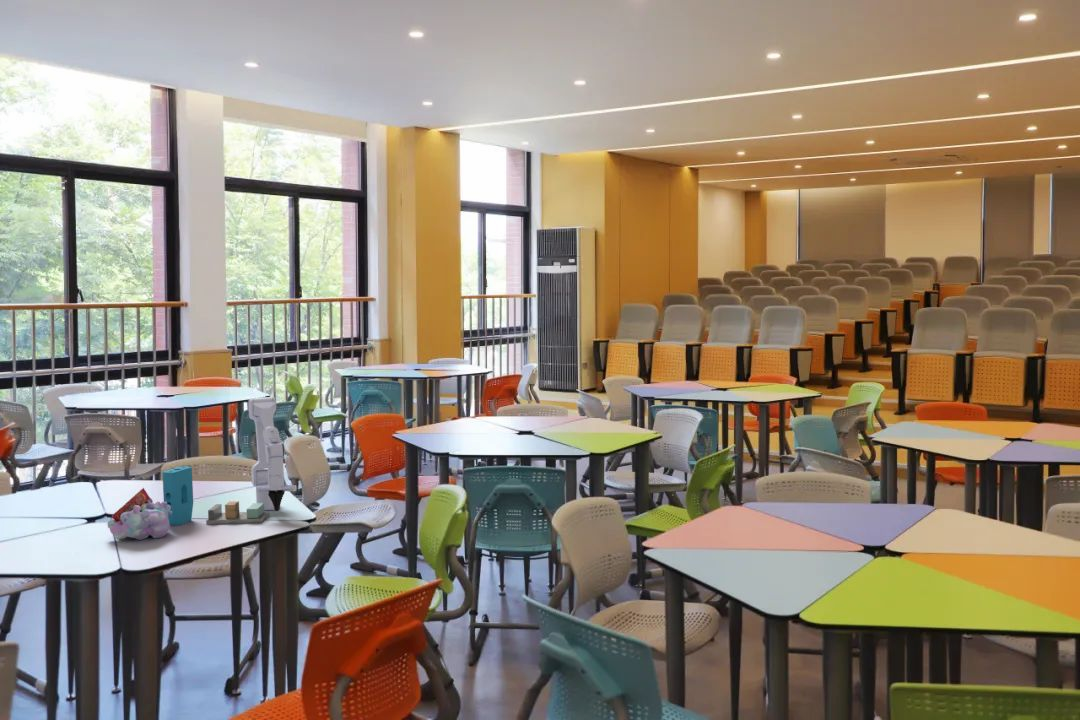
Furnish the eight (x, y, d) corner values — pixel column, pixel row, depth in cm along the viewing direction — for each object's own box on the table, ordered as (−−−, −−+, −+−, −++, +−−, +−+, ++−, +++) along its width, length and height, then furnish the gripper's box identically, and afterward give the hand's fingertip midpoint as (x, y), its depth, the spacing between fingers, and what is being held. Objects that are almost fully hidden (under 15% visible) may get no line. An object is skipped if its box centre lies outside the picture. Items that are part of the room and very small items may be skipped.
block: (175, 526, 338) (173, 472, 336) (163, 526, 339) (161, 472, 337) (195, 519, 349) (192, 466, 348) (183, 518, 350) (181, 466, 349)
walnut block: (230, 514, 349) (229, 501, 349) (239, 514, 349) (238, 501, 349) (225, 518, 343) (224, 504, 343) (235, 517, 344) (234, 504, 343)
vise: (216, 516, 352) (215, 503, 352) (269, 515, 353) (268, 502, 353) (206, 524, 341) (205, 511, 340) (261, 522, 342) (260, 509, 341)
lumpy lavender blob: (154, 532, 310) (165, 482, 319) (90, 531, 310) (102, 481, 318) (174, 549, 328) (184, 501, 337) (113, 548, 328) (124, 500, 336)
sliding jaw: (253, 512, 352) (253, 503, 352) (264, 511, 352) (264, 502, 352) (246, 518, 342) (246, 509, 342) (257, 517, 342) (257, 508, 342)
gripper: (253, 477, 342) (254, 513, 343) (293, 476, 343) (294, 512, 344) (258, 473, 349) (259, 509, 350) (297, 472, 350) (298, 508, 351)
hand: (277, 510), depth 347 cm, fingers closed
